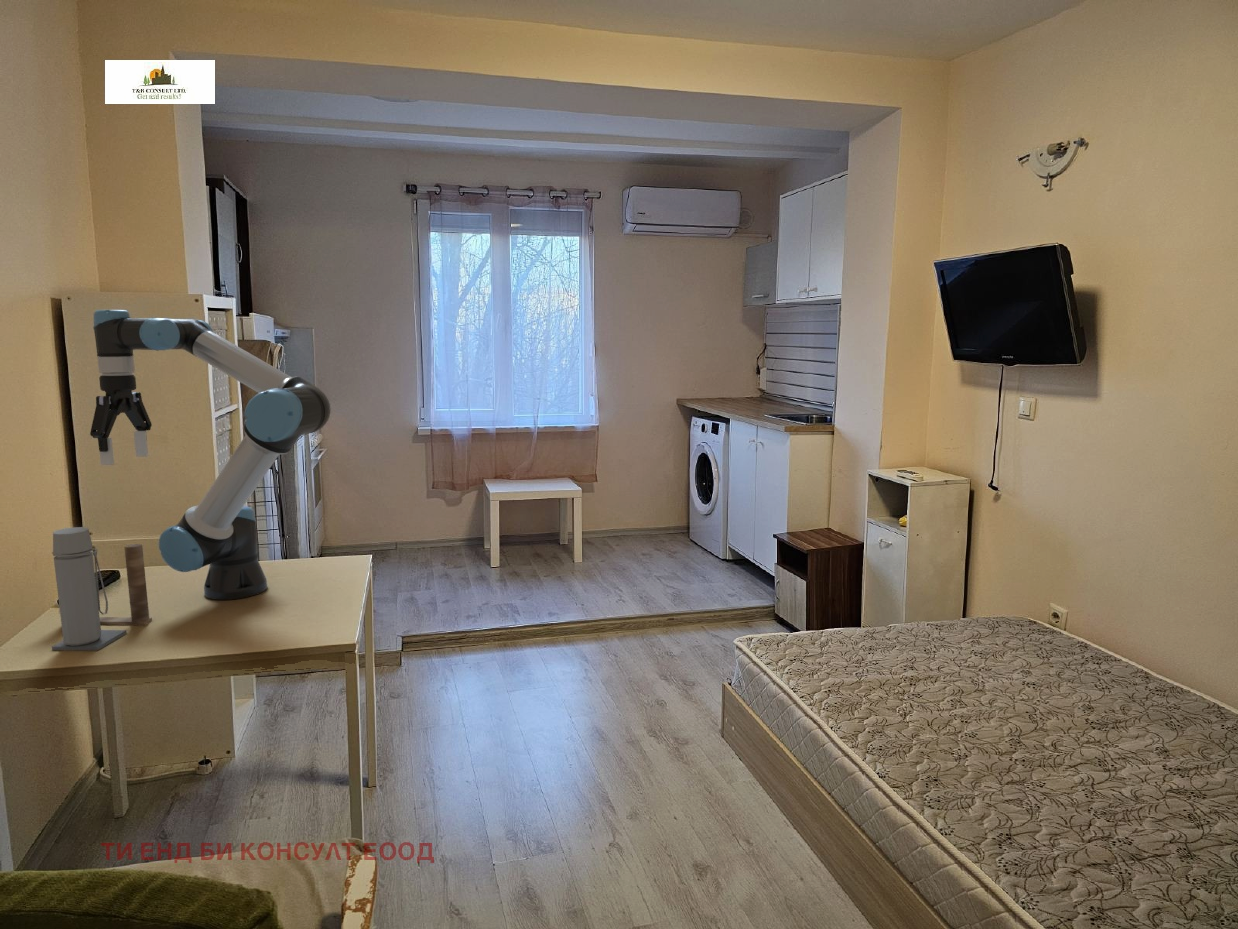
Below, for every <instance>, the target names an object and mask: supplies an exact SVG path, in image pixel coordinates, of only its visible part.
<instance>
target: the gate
mask: <svg viewBox="0 0 1238 929" xmlns="http://www.w3.org/2000/svg"><path fill="white" fill-rule="evenodd" d="M143 547H144V546H143V544H140V543H133V544H129V545H126V546H124V557H125V566H126V567H125V568H126V575H127V576H126V577H127V586H128V587H127V588H128V597H129V607H130V616H131V617H130V616H129V617H126V616H125V617H121V616H115V617H114V616H113V617H109V616H99V617H100V626H146V625H147V624H149V623H150V622H152V621H153V617H150V610H149V602H148V590H147V579H146V569H145V560H144V548H143Z"/></svg>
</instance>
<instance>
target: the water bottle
mask: <svg viewBox="0 0 1238 929" xmlns="http://www.w3.org/2000/svg"><path fill="white" fill-rule="evenodd" d="M51 554H52V556H53V564H54V571H55V579H56V580H55V581H56V588H57V598H58V606H59V614H60V616H59V617H60V622H61V631H62V632H61V633H62V641H64V643H65V644H66V645H71V646H80V645H85V644H89V643H92V642H95V641H96V640H98V639H99V638H100V637H101V630H102V625H100V617H101V616H100V614H101V615H106V614H108V611H109V601H108V597H107V593H106V589H105V585H104V581H103V577H102V574H101V569H100V565H99V562H98V557H97V556H98V548H94V546H93V542H92V538H91V533H90V529H89V527H84V526H81V527H80V526H78V527H77V526H75V527H67V528H65V527H64V528H62V529H61V528H60V529H57V530H55V531H52V552H51ZM98 575H99V577H98ZM99 579H100V582H101V587H102V591H103V596H104V600H105V611H104V612H103V611H102V610H101V602H100V592H99V590H100V589H99V588H100V587H99Z"/></svg>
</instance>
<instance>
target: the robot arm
mask: <svg viewBox="0 0 1238 929" xmlns="http://www.w3.org/2000/svg"><path fill="white" fill-rule="evenodd" d="M93 330H94V331H93V332H94V338H95V347H96V348H95V349H96V356H97V367H98V373H99V374H101V375H100V376H99V377H98V378H99V388H100V390H101V391H102V392H105V395H97V396H96V397H95V408H94V409H95V410H94V415H93V419H92V424H91V426H90V427H91V428H90V433H89V434H90V437H92V438H93V439H97V443H98V450H99V456H100V466H114V465H115V459H114V458H115V457H114V448H113V438H112V437H110V435H111V432H112V429H113V428H114V425H115V423H116V419H117V417H118V416H119V415H120V414H124V415H125V416H126V417H127V419H128V421H130V423H131V424H132V426H133V428H134V429H135V430H134V431H133V440H134V449H135V457H137V458H138V457H145V458H146V457H149V450H148V449H149V448H148V436H147V431H151V430H152V429H151V427H152V426H153V425H152V421H151V419H150V417H149V414H148V412H147V410H146V407H145V404H144V402H143V399H142V398H143V397H142V393H141V392H139V391H137V392H136V391H135V390H136V389H137V381H136V379H137V378H136V375H134V374H133V373H135V372H136V369H135V360H134V351H136V350H137V351H138V350H139V351H140V350H141V351H143V350H144V351H158V352H159V351H169V350H182V351H183V350H184V351H185V352H188V353H189V354H191V355H193V356H194V357H197V358H198V359H200V360H201V361H204V362H205V363H206V364H209V365H210V366H212V367H213V368H215V369H217V370H218V371H220V372H222V373H224V374H225V375H227V376H230V377H231V378H232V379H234V380H236V381H237V382H239V383H241V384H242V385H244V386H246V387H247V388H250V389H251V390H253V391H254V392H256V393H257V394H255V395H254V396H252V398H251V399H249V401H248V403H247V405H246V406H245V410H244V415H243V416H244V417H245V420H244V425H243V427H242V429H243V433H244V437H243V438H242V440H241V441H240V443H239V444H238V446H237V448H236V449H235V451H233V453H232V455H231V456H230V457H229V459H228V460H227V462H226V464H225V465H224V467H223V468H222V470H221V471H220V472H219V474H218V475H217V477H216V479H215V480H214V482H213V483H212V485H211V486H210V487H209V489H208V491H207V492H206V493H205V495H204V496H203V498H202V500H201V501H200V503H199V504H198V505H194V506H191V507H189V508H188V509H187V510H186V511H185V512H184V514H183V515H182V517H181V518H180V520H179V521H178V523H177V524H176V525H172V526H169V527H167V528H166V529H164V530H163V532H161V534H160V536H159V539H158V550H159V551H160V555H161V556H160V557H161V558H162V559H163V561H164V562H165V563H166V565H168V566H169V567H170V568H171V569H173V570H175V571H177V572H181V573H189V572H192V571H197V570H200V569H201V568H203V567H206V566H208V565H209V567H208V571H207V575H206V578H205V582H204V586H203V592H204V597H205V598H207V599H210V600H211V599H212V600H221V601H223V600H224V601H225V600H227V601H228V600H237V599H243V598H249V597H252V596H255V595H259V594H261V593H263V592H265V591H266V590H267V588H268V582H267V581H268V580H267V578H266V575H265V573H264V571H263V568H262V566H261V564H260V561H259V557H258V556H259V555H258V539H257V526H256V523H257V519H256V516H255V510H254V509H253V508H252V507H250V506H248V505H247V506H245V504H246V503H247V502H248V500H249V498H250V497H251V496H252V494H253V493H254V492H255V490H256V489H257V487H258V486H259V484H260V483H261V482H262V480H263V479H264V477H265V475H266V474H267V473H268V471H269V470H270V468H271V467H272V466H273V464H274V463H275V461H276V460H277V458H278V457H279V455H286V454H288V453H290V452H291V450H292V448H293V447H294V445H295V444H296V443H297V441H298V440H299V438H300V437H301V436H304V435H309V434H313V433H316V432H318V431H319V430H321V429H323V428H324V427H325V426H326V424H327V423H328V421H329V419H330V415H331V411H332V410H331V409H332V408H331V403H330V400H329V398H328V397H327V395H326V394H325V392H323V391H322V390H321V389H320V388H319V387H317V385H315V384H312V383H311V382H309V381H308V380H306V379H304V378H302V377H301V376H299V375H298V376H297V375H294V376H290V375H289V374H287V373H285V372H283V371H282V370H280V369H278V368H277V367H275V366H273V365H271V364H269V363H267V362H266V361H264V360H263V359H260V358H259V357H257V356H255V355H254V354H252V353H250V352H248V351H247V350H245V349H243V348H241V347H240V346H237V345H236V344H234V343H233V342H231V341H229V340H227V339H226V338H223V337H222V336H220V335H219V334H217V333H216V332H214V330H213V328H212V327H211V325H210V324H209V323H208V322H206V321H204V320H200V319H196V318H163V317H141V318H134V317H133V318H131V316H130V311H128V310H125V309H97V310H95V311H94V313H93ZM134 391H135V392H134Z"/></svg>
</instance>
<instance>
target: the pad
mask: <svg viewBox="0 0 1238 929" xmlns="http://www.w3.org/2000/svg"><path fill="white" fill-rule="evenodd" d="M125 635H127V630H126V629H101V637H100V638H99V639H98V640H96V641H95V642H92V643H89V644H85V645H80V646H71V645H66V644H65V643H64V641H63V640H61V641H60V642H57V643H56V644H54V645H53V646H51V650H52V651H89V652H90V651H91V652H92V651H94V652H95V651H97V652H98V651H100V650H102V649H103V648H105V647H106V646H108V645H110V644H111V643H113V642H115V641H117V640H118V639H120V638H122V637H123V636H125Z"/></svg>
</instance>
